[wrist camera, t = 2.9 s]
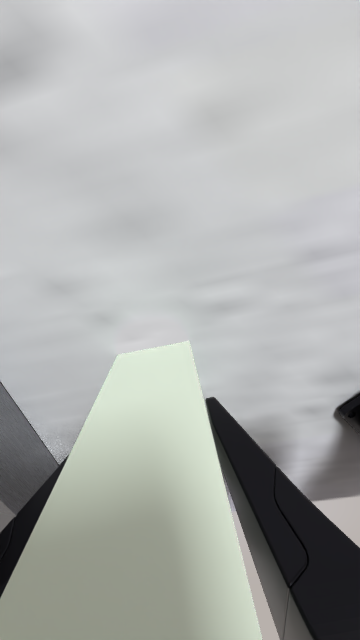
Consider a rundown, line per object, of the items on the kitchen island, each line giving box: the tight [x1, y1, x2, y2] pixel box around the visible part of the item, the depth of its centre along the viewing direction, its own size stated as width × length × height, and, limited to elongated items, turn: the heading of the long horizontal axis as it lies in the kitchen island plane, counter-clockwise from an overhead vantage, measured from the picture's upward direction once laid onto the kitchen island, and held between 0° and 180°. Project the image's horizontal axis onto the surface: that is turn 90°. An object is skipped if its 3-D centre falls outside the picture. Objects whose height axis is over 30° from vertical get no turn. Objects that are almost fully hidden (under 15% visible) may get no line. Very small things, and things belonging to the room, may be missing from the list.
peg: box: [0, 341, 263, 640], centre depth 7 cm, size 4×4×8 cm
